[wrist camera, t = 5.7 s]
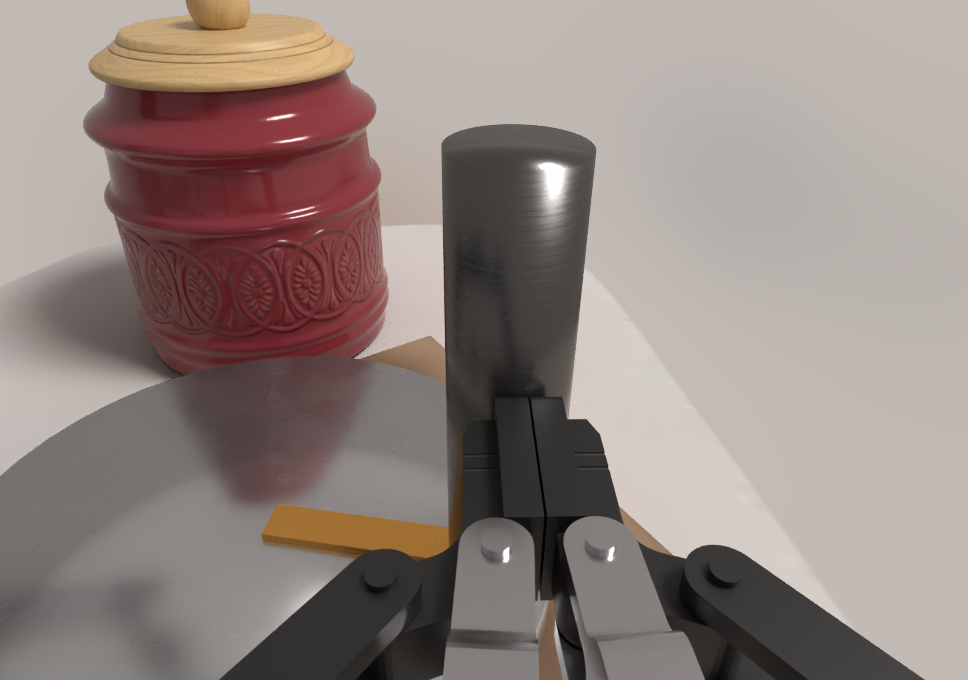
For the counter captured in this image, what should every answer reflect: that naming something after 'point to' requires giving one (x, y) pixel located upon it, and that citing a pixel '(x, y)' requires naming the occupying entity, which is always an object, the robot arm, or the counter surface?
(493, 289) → the wheel
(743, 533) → the counter surface
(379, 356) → the base board
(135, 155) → the canister
